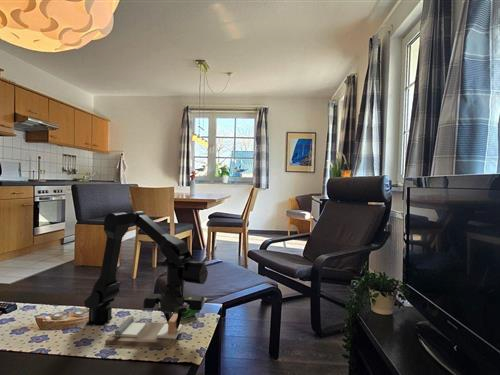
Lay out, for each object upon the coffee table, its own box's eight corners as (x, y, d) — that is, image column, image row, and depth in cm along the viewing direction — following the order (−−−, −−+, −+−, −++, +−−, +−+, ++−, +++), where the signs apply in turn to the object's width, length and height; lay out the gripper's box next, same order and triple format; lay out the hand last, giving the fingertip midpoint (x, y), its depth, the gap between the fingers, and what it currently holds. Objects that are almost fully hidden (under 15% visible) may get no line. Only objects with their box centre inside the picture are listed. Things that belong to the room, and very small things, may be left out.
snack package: (182, 323, 108) (183, 309, 108) (167, 308, 120) (168, 295, 121) (200, 319, 112) (201, 305, 112) (184, 305, 125) (185, 292, 125)
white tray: (111, 337, 93) (111, 330, 93) (125, 323, 103) (125, 316, 103) (136, 338, 93) (136, 331, 93) (148, 324, 103) (148, 317, 103)
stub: (156, 337, 93) (157, 322, 93) (164, 326, 101) (165, 311, 101) (175, 338, 93) (176, 323, 93) (182, 326, 101) (182, 312, 101)
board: (105, 344, 91) (105, 340, 91) (124, 325, 104) (124, 321, 104) (169, 347, 91) (169, 343, 91) (181, 327, 104) (181, 323, 104)
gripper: (137, 287, 90) (135, 339, 90) (198, 289, 89) (197, 342, 89) (150, 276, 101) (149, 322, 101) (205, 278, 100) (204, 324, 100)
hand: (173, 327), depth 97 cm, fingers closed on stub, 2 cm apart
